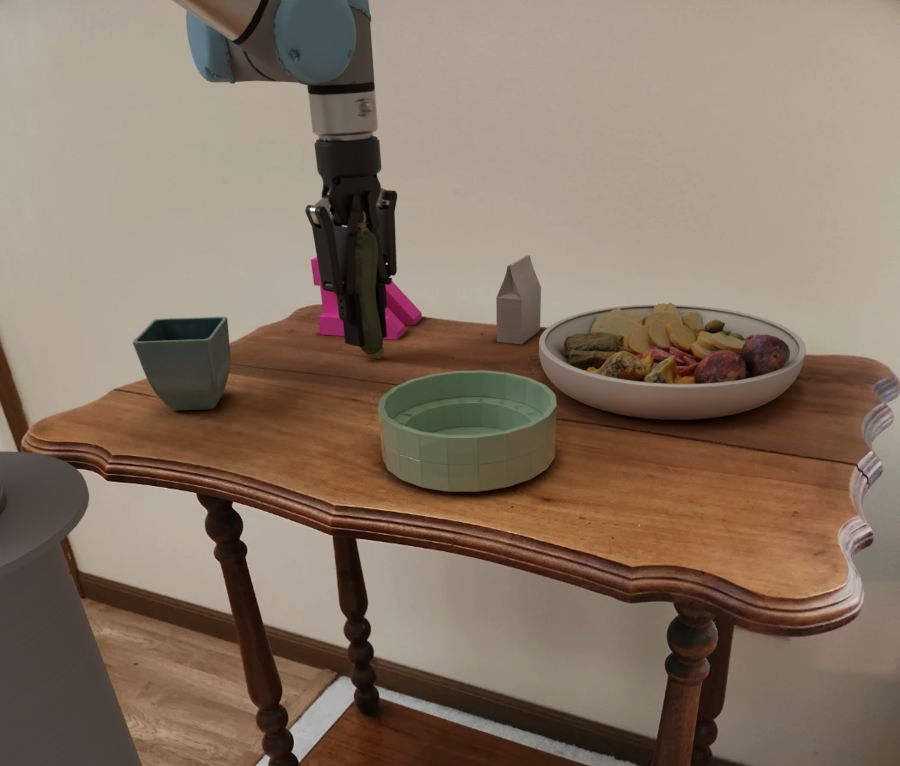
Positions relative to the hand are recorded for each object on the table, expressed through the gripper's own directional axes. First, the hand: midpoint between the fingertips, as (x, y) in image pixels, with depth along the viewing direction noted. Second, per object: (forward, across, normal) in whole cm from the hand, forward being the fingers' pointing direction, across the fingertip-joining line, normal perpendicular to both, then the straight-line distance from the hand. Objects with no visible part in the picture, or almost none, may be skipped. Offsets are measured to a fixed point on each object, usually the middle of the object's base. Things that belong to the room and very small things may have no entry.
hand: (366, 339), depth 106 cm
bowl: (+3, +14, -36) cm, 39 cm away
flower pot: (+3, -23, +6) cm, 24 cm away
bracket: (+3, +11, +10) cm, 15 cm away
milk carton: (+3, +19, -11) cm, 22 cm away
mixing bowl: (+3, -16, -30) cm, 34 cm away
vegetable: (+3, 0, 0) cm, 3 cm away
